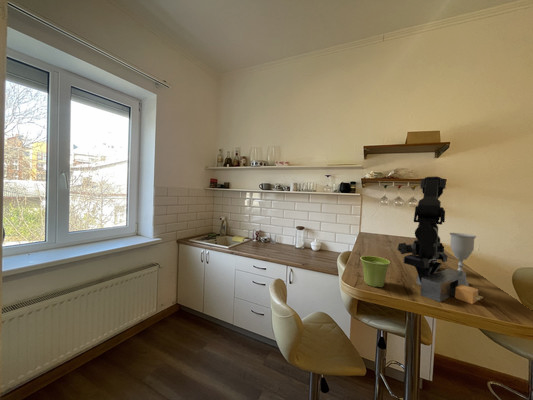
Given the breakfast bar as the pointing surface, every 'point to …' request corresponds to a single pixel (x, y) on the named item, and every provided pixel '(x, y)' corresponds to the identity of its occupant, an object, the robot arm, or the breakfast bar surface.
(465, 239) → the chalice
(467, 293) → the plug
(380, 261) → the plant pot
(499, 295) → the breakfast bar surface
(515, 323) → the breakfast bar surface
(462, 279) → the block
